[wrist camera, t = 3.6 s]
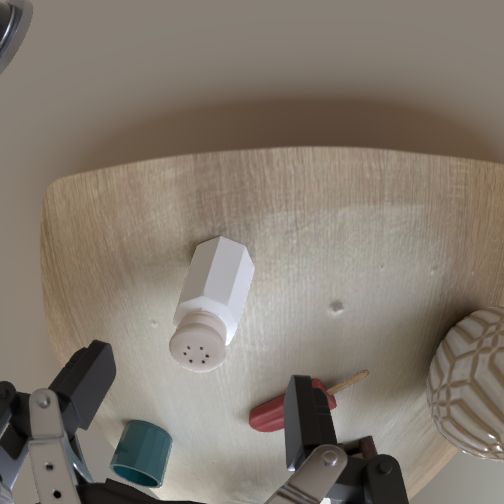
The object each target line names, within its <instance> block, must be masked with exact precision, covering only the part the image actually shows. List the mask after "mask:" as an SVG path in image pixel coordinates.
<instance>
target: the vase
mask: <svg viewBox="0 0 504 504" xmlns="http://www.w3.org/2000/svg"><path fill="white" fill-rule="evenodd" d="M426 389H427V403H428V408H429V412H430V414H431V417H432V420H433V422H434V424H435V426H436V428H437V429H438V431H439V432H440V433H441V434H442V435H443V436H444V437H445V438H446V439H447V440H448V441H449V442H450V443H451V444H453V445H454V446H455V447H456V448H458V449H460V450H461V451H463V452H465V453H467V454H470V455H473V456H475V457H478V458H482V459H487V460H491V461H497V462H500V463H503V464H504V307H502V306H493V307H486V308H483V309H480V310H477V311H475V312H473V313H471V314H470V315H468V316H466V317H465V318H463V319H462V320H460V321H459V322H458V323H456V324H455V325H454V326H453V327H452V328H451V329H450V330H449V332H448V333H447V334H446V335H445V337H444V338H443V339H442V341H441V343H440V344H439V346H438V348H437V350H436V352H435V354H434V356H433V358H432V361H431V364H430V368H429V371H428V376H427V386H426Z"/></svg>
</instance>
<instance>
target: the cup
mask: <svg viewBox="0 0 504 504" xmlns="http://www.w3.org/2000/svg"><path fill="white" fill-rule="evenodd" d="M171 447H172V438H171V436H170V435H169V434H168V433H167V432H166V431H164V430H163V429H161V428H160V427H158V426H156V425H153V424H151V423H148V422H144V421H129V422H128V423H127V424H126V426H125V428H124V431H123V433H122V436H121V438H120V441H119V443H118V446H117V448H116V451H115V453H114V456H113V459H112V461H111V463H110V467H109V468H110V469H111V470H112V471H113V472H114V473H115V474H116V475H117V476H119V477H121V478H123V479H124V480H126V481H128V482H131V483H133V484H136V485H139V486H143V487H148V488H160V487H161V486H162V484H163V480H164V475H165V471H166V467H167V463H168V459H169V455H170V451H171Z"/></svg>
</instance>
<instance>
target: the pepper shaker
mask: <svg viewBox="0 0 504 504" xmlns="http://www.w3.org/2000/svg"><path fill="white" fill-rule="evenodd" d="M254 271H255V267H254V265H253V263H252V260H251V258H250V256H249V253H248V251H247V249H246V246H245V245H242V244H240V243H237V242H235V241H232V240H230V239H227V238H225V237H223V236H219V237H216V238H214V239H211V240H209V241H206V242H204V243H201V244H199V245H197V247H196V250H195V252H194V255H193V258H192V261H191V263H190V266H189V269H188V272H187V275H186V279H185V282H184V285H183V288H182V292H181V295H180V298H179V302H178V305H177V308H176V312H175V315H174V320H173V324H174V326H175V327H176V332H175V333H174V335H173V336H172V338H171V340H170V343H169V350H170V352H171V355H172V357H173V358H174V359H175V361H176V362H177V363H178V364H179V365H180V366H182V367H184V368H185V369H188V370H190V371H194V372H209V371H213V370H215V369H217V368H219V367H220V366H221V365H222V364H223V362H224V360H225V355H226V349H225V348H226V345H228V344H229V343H230V341H231V339H232V337H233V335H234V333H235V331H236V329H237V327H238V324H239V322H240V319H241V316H242V312H243V309H244V305H245V302H246V299H247V295H248V292H249V288H250V285H251V281H252V278H253V274H254Z"/></svg>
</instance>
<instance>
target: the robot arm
mask: <svg viewBox="0 0 504 504" xmlns="http://www.w3.org/2000/svg"><path fill="white" fill-rule="evenodd" d="M15 17H16V7H15V6H14V5H13V4H10V3H5V2H2V1H0V51H1V49H2V47H3V45H4V44H5V42H6V40H7V38H8V36H9V34H10V32H11V29H12V27H13V24H14V21H15ZM115 375H116V366H115V361H114V357H113V352H112V347H111V345H110V344H109V343H106V342H102V341H99V340H94V341H93V342H92V343H91V344H90V345H89V347H88V348H85V347H83V348H82V349H80V350H79V351H77V352H75V353H74V355H73V356H72V357H71V358H70V360H69V361H68V362H67V364H66V365H65V367H64V368H63V369H62V370H61V371H60V373H59V374H58V376H57V377H56V378H55V380H54V381H53V382H52V384H51V385H50V386H49V388H48V389H45V388H43V389H38V390H36V391H34V392H33V393H32V394H27V393H22V392H17V391H16V389H15V387H14V386H13V385H12V383H10V382H7V381H1V382H0V434H1V433H2V431H3V429H4V428H5V426H6V424H7V423H9V425H8V427H7V429H6V431H5V432H4V434H3V436H2V437H1V439H0V504H15V502H14V500H13V495H12V492H11V489H12V487H13V484H14V482H15V480H16V478H17V475H18V473H19V471H20V469H21V466H22V464H23V462H24V460H25V458H26V456H27V454H28V452H29V454H30V461H31V465H32V471H33V476H34V480H35V485H36V489H37V493H38V497H39V500H40V502H39V503H36V504H206V503H199V502H193V501H162V500H157V499H155V498H153V497H150V496H148V495H146V494H145V493H143V492H141V491H139V490H137V489H136V488H134V487H132V486H129V485H126V484H123V483H120V482H117V481H114V480H111V479H108V478H107V479H106V482H105V483H94V481H93V479H92V477H91V475H90V473H89V471H88V469H87V467H86V464H85V461H84V458H83V455H82V452H81V448H80V444H79V441H78V437H77V434H76V431H77V429H78V427H79V428H82V429H84V430H87V429H88V427H89V425H90V423H91V421H92V420H93V418H94V416H95V414H96V412H97V410H98V408H99V406H100V405H101V403H102V401H103V399H104V397H105V395H106V394H107V392H108V390H109V388H110V386H111V385H112V383H113V381H114V379H115ZM283 415H284V430H285V446H286V463H287V471H295V473H294V474H293V475H292V476H291V478H290V479H289V480H288V481H287V482H286V483H285V484H284V485H283V486H281V487H280V488H279V489H278V490H277V491H276V492H275V493H274V494H273V495H272V496H271V497H270V498H269V499H268V500H267V501H266V502H265V503H264V504H320V503H321V501H322V500H323V498H328V499H334V500H340V501H341V504H409V502H408V498H407V494H406V489H405V485H404V481H403V477H402V473H401V469H400V465H399V463H398V461H397V460H396V459H395V458H394V457H392V456H390V455H386V454H380V455H376V456H374V457H373V458H372V459H371V460H366V459H360V458H355V457H351V456H349V455H347V454H346V453H345V452H344V451H343V450H342V449H341V448H340V447H339V446H338V443H337V439H336V435H335V430H334V425H333V421H332V416H331V412H330V408H329V403H328V399H327V396H326V395H325V393H324V392H323V391H322V389H321V388H313V387H312V382H311V378H310V376H304V375H292V376H291V379H290V382H289V385H288V388H287V392H286V395H285V398H284V404H283Z"/></svg>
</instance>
